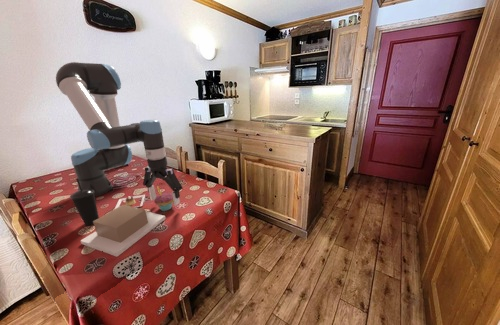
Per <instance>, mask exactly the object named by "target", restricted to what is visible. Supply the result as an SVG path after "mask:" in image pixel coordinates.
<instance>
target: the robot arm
mask: <svg viewBox="0 0 500 325" xmlns="http://www.w3.org/2000/svg"><path fill="white" fill-rule="evenodd" d="M55 83H56V86H57V87H58V90H59V91H60V92H61V93H62V94H64V95H65V96H67V98H68V100H69V101H70V102H71V104H72V105H73V107H74V109H75V111H76V112H77V113H78V115H79V117H80V118H81V119H82V121H83V122H84V124H85V126H86V128H87V129H88V131H87V133H86V138H87V141H88V143H89V145H90V148H89V147H88V148H84V149H80V150H78V151H75V152H74V153H73V154H72V155H71V156H70V159H71V165H72V166H73V168H74V173H75V174H76V179H77V178H78V179H79V182H80V185H81V188H82V189H93V190H94V196H95V197H99V196H102V195H105V194H106V193H109V192H111V190H112V189H113V185H112V182H111V181H110V179H108V177H107V175H106V173H105V171H107V170H110V169H114V168H115V167H119V166H124V165H126V164H128V165H129V164H130V163H131V162H132V160H133V152H132V148H131V146H130V144H134V143H139V142H140V143H143V146H144V147H143V149H144V151H145V152H144V153H145V157H146V158H147V166H145V167H144V175H143V182H142V185H143V186H146V188H147V192H148V193H149V197H150V201H153V202H154V200H155V198H156V197H157V194H156V190H155V185H154V182H155V181H156V179H161V180H162V181H164V182H165V183H166V184H167V186H168V187H169V188H170V189H171V190H172V192H171V194H173V200H174V202H173V205H174V207H176V206H177V205H179V204H180V203H181V200H180V196H181V195H180V191H181V190H183V188H184V187H183V186H182V184H181V183H180V181H179V179H178V178H177V176H176V174H175V170H174V168H169V169H168V168H167V166H168V159H167V156H166V155H167V154H166V149H165V143H164V137H163V131H162V126H161V122H160V121H159V120H158V119H145V120H140V122H135V123H133V122H132V123H130V124H126V125H121V124H120V120H119V114H118V109H117V108H118V107H117V102H116V96H117V95H118V91H119V90H121V88H122V87H121V86H122V81H121V78H120V76H119V74H118V72H117V70H116V69H115V68H114V67H113V65H110V64H104V63H89V62H77V61H73V62H72V61H71V62H67V63H65V64H63V65H62V66H61V67H59V68H58V70H57V71H56V76H55ZM79 190H80V189H79V186H78V185H77V191H79Z"/></svg>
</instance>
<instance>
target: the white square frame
mask: <svg viewBox="0 0 500 325" xmlns="http://www.w3.org/2000/svg"><path fill="white" fill-rule="evenodd" d="M145 197H146V194H142V195H134V196H130V195H128V196H127V197H124V198H119V199H118V201H117V203H116V205H115V207H114V209H116V208H118V207H120V206H121V203H122V202H123V201H125V204H124V205H127V206H133V205H135V204H136V203H137V202H136V200H135V199H139V198H141V202H140V205H138V206H137V205H136V208H140V207H142V206H143V205H144V201H145Z"/></svg>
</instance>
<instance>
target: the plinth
mask: <svg viewBox="0 0 500 325" xmlns="http://www.w3.org/2000/svg"><path fill="white" fill-rule="evenodd" d="M166 219H167V218H166V215H162V214H159V213H155V212H150V211H146V209H143V208H140V207H137V206H132V205H130V206H127V205H125V204H122V205H120V206H119V207H118V208H116V209H115V208H114V209H113V210H111V211H109V212H107V213H106V214H103V215H102V216H100V217H99V218H98V219H96V220H95V221H93V224H94V225H93V226H94V230H95V231H93V233H90V234H89V235H87V236H85V237H84V238H82V239H81V240H80V243H81V245H84V246H86V247H88V248H91V249H94V250H97V251H100V252H102V251H103V252H102V253H105V254H109V255H111V256H114V257H119V256H120V255H121V254H122V253H124V252H126V250H128V249H129V248H130V247H132V246H133V245H134V244H136V243H137V242H138V241H139V240H140V239H142V238H143V237H144V236H145V235H147V234H148V233H150V232H151V231H152V230H154V228H156V227H157V226H159V225H160V224H161V223H163V221H165V220H166Z"/></svg>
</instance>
